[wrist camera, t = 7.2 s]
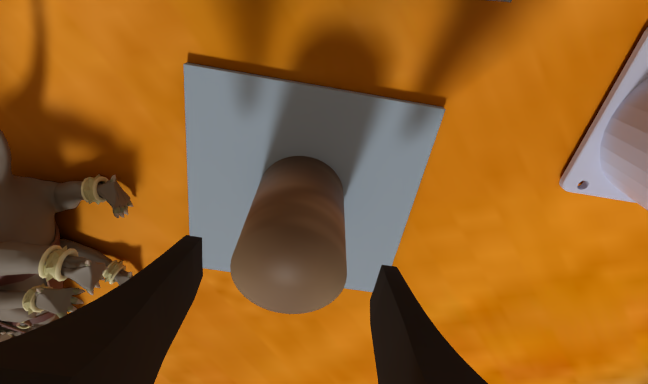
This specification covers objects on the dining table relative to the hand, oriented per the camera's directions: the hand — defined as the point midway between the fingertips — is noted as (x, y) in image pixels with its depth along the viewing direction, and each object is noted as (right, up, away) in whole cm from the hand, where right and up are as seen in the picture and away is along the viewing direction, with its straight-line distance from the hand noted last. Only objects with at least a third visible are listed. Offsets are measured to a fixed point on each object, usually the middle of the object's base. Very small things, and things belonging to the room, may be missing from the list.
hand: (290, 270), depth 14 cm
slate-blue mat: (0, +3, +5) cm, 6 cm away
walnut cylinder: (0, +3, +5) cm, 6 cm away
